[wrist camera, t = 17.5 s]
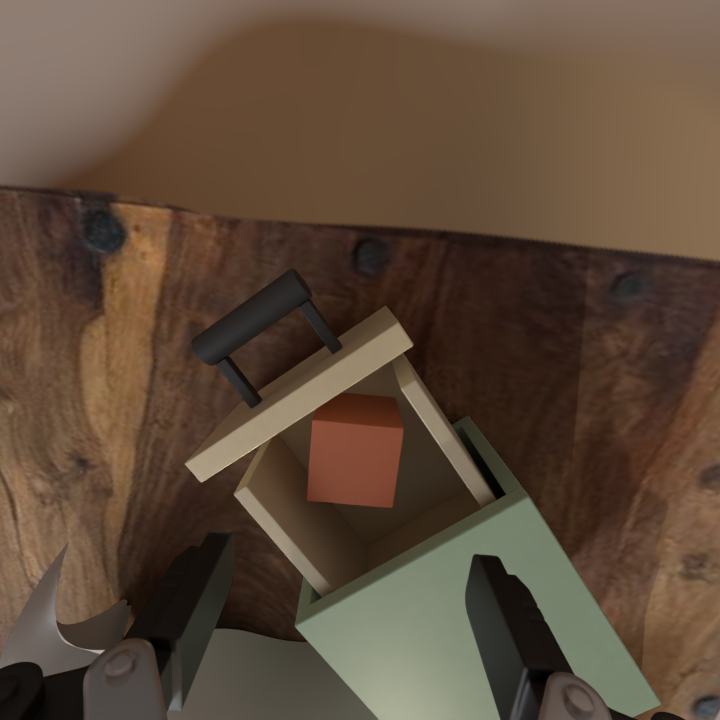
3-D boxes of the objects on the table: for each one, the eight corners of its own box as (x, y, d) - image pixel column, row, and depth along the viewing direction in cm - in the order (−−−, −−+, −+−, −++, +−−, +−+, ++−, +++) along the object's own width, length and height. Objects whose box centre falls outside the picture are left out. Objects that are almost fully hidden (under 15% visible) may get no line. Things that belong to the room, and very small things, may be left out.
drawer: (192, 349, 22) (115, 386, 15) (344, 241, 21) (336, 226, 14) (355, 552, 26) (353, 657, 19) (494, 472, 24) (550, 554, 17)
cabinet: (315, 506, 26) (293, 626, 17) (467, 414, 24) (529, 495, 16) (422, 638, 29) (450, 799, 20) (564, 564, 27) (662, 704, 18)
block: (321, 390, 22) (312, 419, 18) (395, 397, 22) (404, 428, 18) (316, 457, 23) (306, 501, 19) (386, 463, 23) (393, 508, 19)
